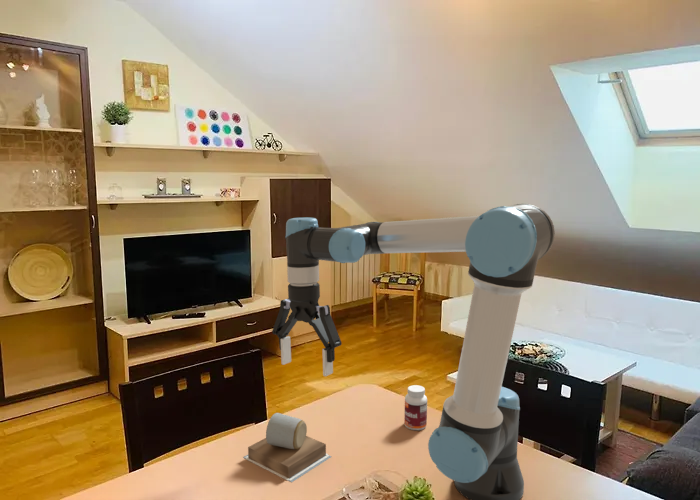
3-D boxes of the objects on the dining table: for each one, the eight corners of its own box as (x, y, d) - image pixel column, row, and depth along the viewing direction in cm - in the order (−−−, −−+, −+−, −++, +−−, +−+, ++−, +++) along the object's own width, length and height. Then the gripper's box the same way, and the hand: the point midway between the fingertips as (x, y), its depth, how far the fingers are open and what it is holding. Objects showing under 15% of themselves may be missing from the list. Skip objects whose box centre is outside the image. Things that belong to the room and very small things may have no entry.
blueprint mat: (332, 457, 133) (332, 455, 133) (291, 483, 122) (291, 482, 122) (284, 436, 143) (283, 434, 143) (242, 458, 132) (242, 457, 132)
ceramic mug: (295, 456, 127) (295, 425, 126) (265, 450, 130) (264, 420, 129) (313, 436, 137) (313, 407, 136) (285, 430, 140) (284, 402, 139)
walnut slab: (325, 455, 133) (325, 444, 133) (288, 478, 123) (288, 466, 123) (286, 437, 142) (286, 427, 141) (248, 458, 132) (248, 447, 131)
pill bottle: (399, 425, 149) (400, 388, 147) (414, 418, 153) (414, 382, 152) (416, 433, 145) (417, 395, 143) (431, 426, 149) (432, 388, 147)
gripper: (355, 285, 122) (356, 374, 125) (277, 275, 137) (280, 354, 141) (334, 291, 117) (336, 384, 120) (255, 280, 132) (259, 362, 135)
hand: (306, 368), depth 130 cm, fingers open, 13 cm apart
